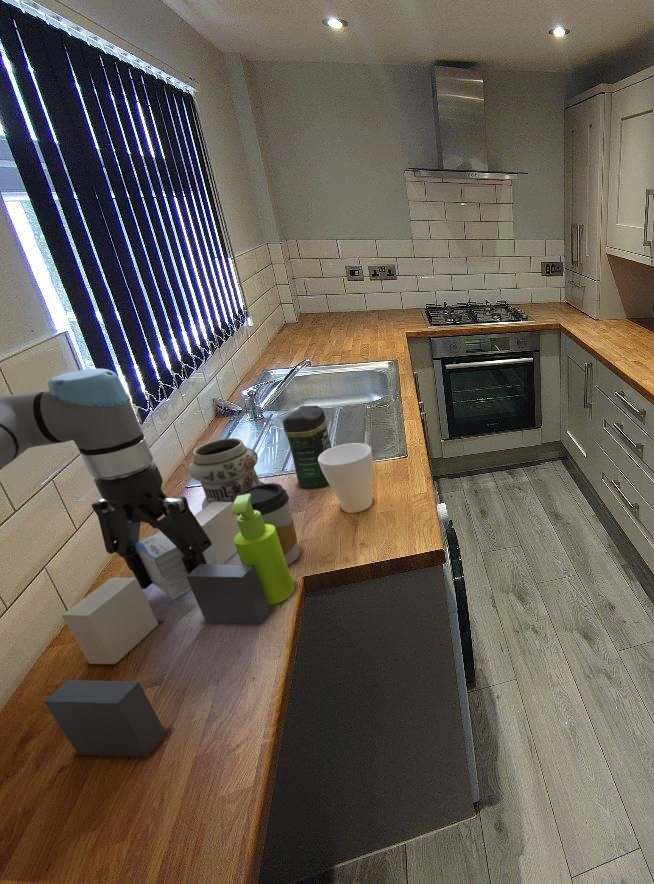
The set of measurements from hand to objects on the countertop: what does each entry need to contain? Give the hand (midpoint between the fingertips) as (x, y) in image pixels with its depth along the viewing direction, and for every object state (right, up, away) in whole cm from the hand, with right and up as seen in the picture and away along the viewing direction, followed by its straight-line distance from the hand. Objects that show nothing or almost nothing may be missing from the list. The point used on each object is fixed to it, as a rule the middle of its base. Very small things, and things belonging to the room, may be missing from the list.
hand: (176, 583), depth 90 cm
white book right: (0, +2, +11) cm, 11 cm away
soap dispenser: (+17, -3, 0) cm, 17 cm away
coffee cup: (+12, +1, +10) cm, 16 cm away
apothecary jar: (-3, +7, +22) cm, 23 cm away
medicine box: (0, 0, 0) cm, 0 cm away
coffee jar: (+5, +14, +38) cm, 41 cm away
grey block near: (+13, -14, -24) cm, 31 cm away
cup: (+19, +9, +27) cm, 34 cm away
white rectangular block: (0, -7, -9) cm, 11 cm away
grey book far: (+14, -5, -4) cm, 15 cm away
